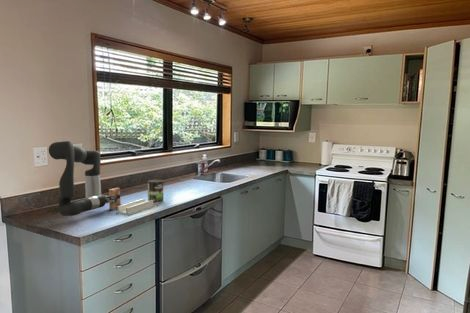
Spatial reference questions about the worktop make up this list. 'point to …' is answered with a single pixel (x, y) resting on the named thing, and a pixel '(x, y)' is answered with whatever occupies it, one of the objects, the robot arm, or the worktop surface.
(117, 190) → the wooden card
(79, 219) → the worktop surface
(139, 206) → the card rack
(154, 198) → the coffee can
